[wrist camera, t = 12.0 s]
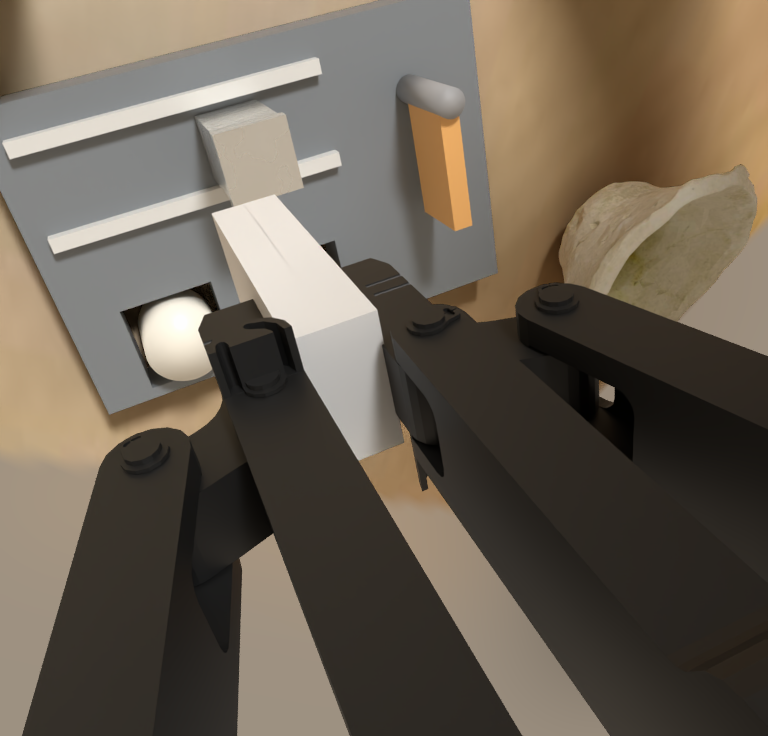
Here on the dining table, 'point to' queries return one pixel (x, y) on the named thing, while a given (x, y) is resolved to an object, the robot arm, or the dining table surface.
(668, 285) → the bowl
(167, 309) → the button ivory
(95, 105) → the panel
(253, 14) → the dining table surface
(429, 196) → the paddle
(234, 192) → the slider knob
